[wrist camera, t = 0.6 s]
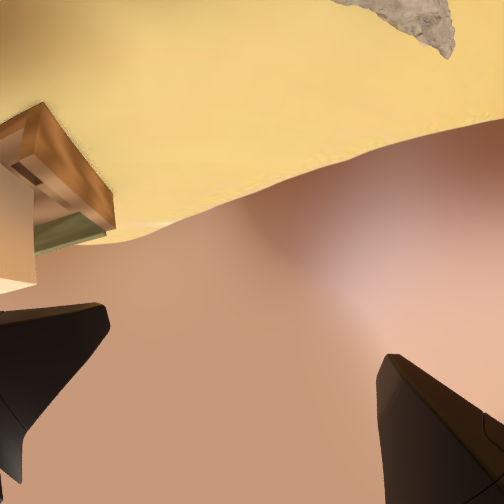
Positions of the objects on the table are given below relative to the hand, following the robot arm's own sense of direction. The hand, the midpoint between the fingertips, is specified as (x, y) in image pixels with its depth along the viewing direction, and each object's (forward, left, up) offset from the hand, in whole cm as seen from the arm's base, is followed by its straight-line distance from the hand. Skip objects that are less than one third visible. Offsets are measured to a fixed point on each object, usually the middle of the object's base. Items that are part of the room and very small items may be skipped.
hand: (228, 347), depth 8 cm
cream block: (-6, -16, -13) cm, 22 cm away
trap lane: (-3, -19, -15) cm, 24 cm away
